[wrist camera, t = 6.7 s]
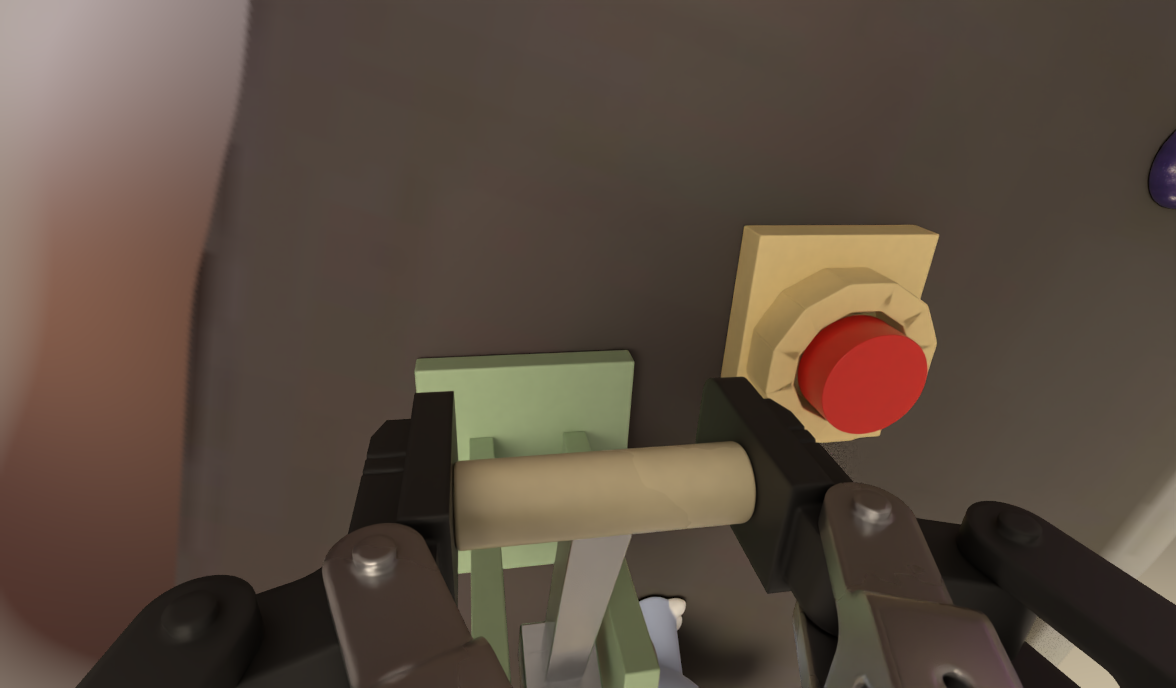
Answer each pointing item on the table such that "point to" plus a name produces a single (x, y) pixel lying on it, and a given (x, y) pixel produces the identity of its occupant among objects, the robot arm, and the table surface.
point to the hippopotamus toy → (666, 638)
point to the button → (862, 374)
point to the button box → (821, 301)
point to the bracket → (539, 427)
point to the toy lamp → (1164, 175)
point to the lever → (592, 530)
